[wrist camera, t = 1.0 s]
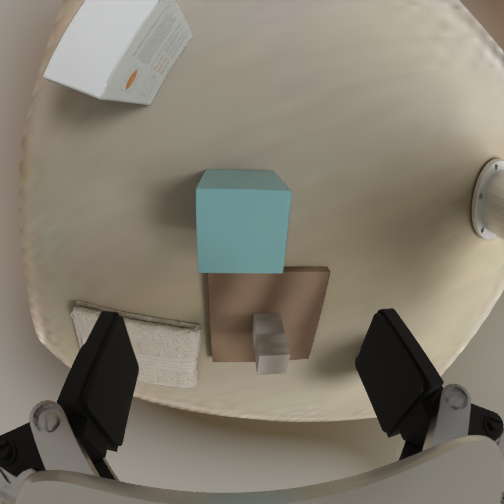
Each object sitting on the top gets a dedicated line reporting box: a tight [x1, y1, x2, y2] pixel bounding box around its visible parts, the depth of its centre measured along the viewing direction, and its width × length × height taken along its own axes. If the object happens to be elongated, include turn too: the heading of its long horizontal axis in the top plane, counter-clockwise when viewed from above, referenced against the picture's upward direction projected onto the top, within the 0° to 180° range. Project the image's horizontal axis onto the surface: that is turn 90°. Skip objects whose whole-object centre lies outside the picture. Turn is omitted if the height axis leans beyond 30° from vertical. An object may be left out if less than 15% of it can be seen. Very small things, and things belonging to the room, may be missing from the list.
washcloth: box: [70, 300, 201, 388], centre depth 32 cm, size 12×18×3 cm, turn 79°
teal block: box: [196, 169, 292, 273], centre depth 22 cm, size 6×6×8 cm
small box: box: [43, 0, 193, 105], centre depth 14 cm, size 8×6×10 cm
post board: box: [208, 267, 330, 375], centre depth 29 cm, size 13×14×8 cm
